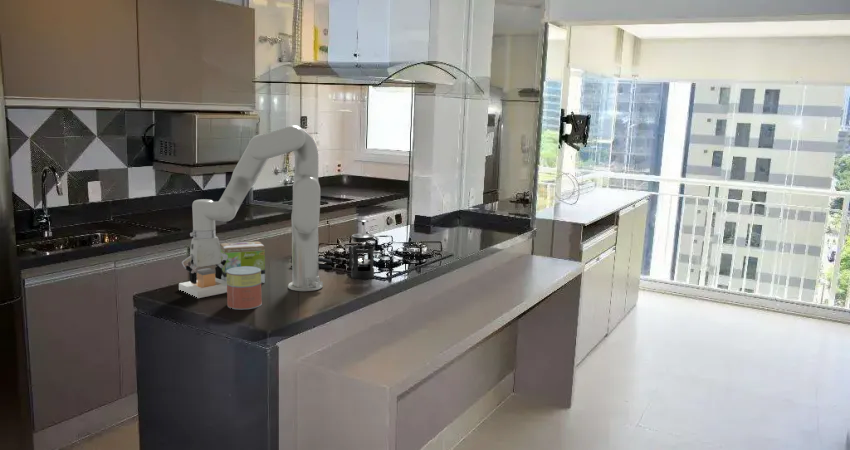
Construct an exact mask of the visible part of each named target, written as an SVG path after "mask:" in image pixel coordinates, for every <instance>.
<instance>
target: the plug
mask: <svg viewBox="0 0 850 450" xmlns="http://www.w3.org/2000/svg"><path fill="white" fill-rule="evenodd" d="M215 273H216V270H215V269H212V268H210V267H208V268H207V267H206V268H201V269H196V280H198V287H200V288H204V287H209V286H214V285H215Z"/></svg>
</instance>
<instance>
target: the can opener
mask: <svg viewBox="0 0 850 450" xmlns="http://www.w3.org/2000/svg"><path fill="white" fill-rule="evenodd" d="M290 261H291V262H292V256H291V259H290ZM325 263H328V264H325ZM332 263H333V261H332V259H329V258H323V257H319V256H318V269H331V268H332V266H331V265H329V264H332Z"/></svg>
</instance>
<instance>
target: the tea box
mask: <svg viewBox="0 0 850 450" xmlns="http://www.w3.org/2000/svg"><path fill="white" fill-rule="evenodd" d="M220 249H221V253H224V254H226V255H228V258H227V260H226V263H225V264H224V266H223V268H222V276H221V279H222V280H224V281H227V272H226V270H227V269H230V268H233V267H240V266H253V267H258V268H260V269H261V284H265V282H266V246H265V245H264V244H263V243H262V242H261V241H243V242H224V243H220ZM222 258H223V257H222V256H221V260H222Z"/></svg>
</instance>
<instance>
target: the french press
mask: <svg viewBox="0 0 850 450" xmlns="http://www.w3.org/2000/svg"><path fill="white" fill-rule="evenodd" d="M357 222H359V223H361V225H362V233H361V232H360V233H354V234H352V235H351V238H352V242H354V243H360V245H351V246H349V247H348V267H349V268H350V269H351V275H350V278H351V279H353V280H358V281H359V280H360V281H363V280H364V281H365V280H372V279H374V278H375V277H374V275H375V268H374V261H375V260H374V252H375V246H372V245H367V244H364V243H365V242H368V241H369V240H370V241H374V238H375V235H374V234H373V233H365V232H364V231H365V229H364V227H365V223H369V220H368V219H359V220H357ZM359 254H367V258H364V257H362V258H359ZM373 277H374V278H373Z"/></svg>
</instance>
